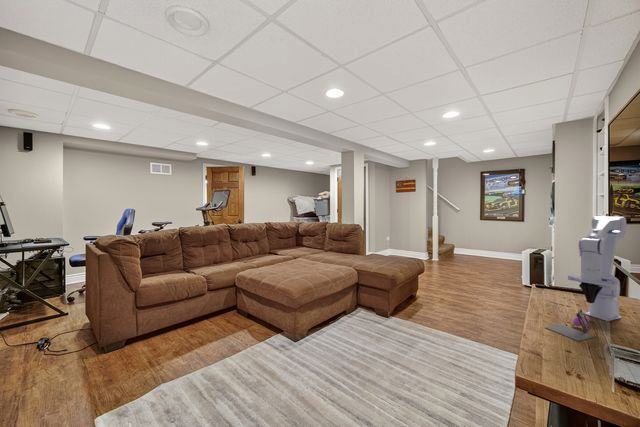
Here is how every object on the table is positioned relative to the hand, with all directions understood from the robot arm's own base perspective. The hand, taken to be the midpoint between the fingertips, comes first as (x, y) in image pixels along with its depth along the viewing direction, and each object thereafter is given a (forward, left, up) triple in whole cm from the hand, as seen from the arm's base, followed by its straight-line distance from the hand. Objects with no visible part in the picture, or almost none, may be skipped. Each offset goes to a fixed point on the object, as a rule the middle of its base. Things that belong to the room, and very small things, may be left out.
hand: (590, 302), depth 107 cm
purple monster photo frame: (+6, 0, -10) cm, 11 cm away
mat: (+14, +1, -9) cm, 17 cm away
